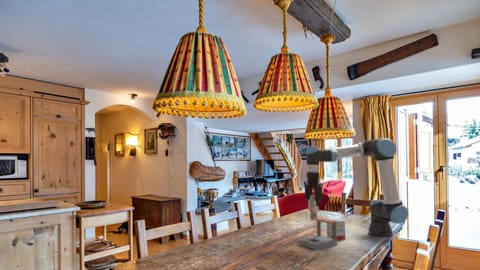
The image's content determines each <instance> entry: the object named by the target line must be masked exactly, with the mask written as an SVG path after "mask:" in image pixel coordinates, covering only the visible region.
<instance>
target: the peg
mask: <svg viewBox="0 0 480 270" xmlns="http://www.w3.org/2000/svg"><path fill="white" fill-rule="evenodd" d="M314 201H315V194H312V195H311V196H310V212H309V214H310V216H309V217H310V218H309V219H310V220H311V221H315V220H317V217H318V212H315V204H314Z"/></svg>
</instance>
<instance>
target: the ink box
mask: <svg viewBox="0 0 480 270" xmlns="http://www.w3.org/2000/svg"><path fill="white" fill-rule="evenodd" d="M330 219H331V220H336V221H337V223H336V233H337V241H341V240H346V221H345V220H343V219H339V218H330ZM326 237H328V238H332V239H333V230H332V224H329V223H326Z"/></svg>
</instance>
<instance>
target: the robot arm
mask: <svg viewBox="0 0 480 270" xmlns="http://www.w3.org/2000/svg"><path fill="white" fill-rule="evenodd" d="M305 151H306V153H305V155H306V158H305V159H306V179H307V180H306V181H304V182H303V186H304V198H305V199H307V206H308V212H309V211H310V196H311V195H314V196H315V201H314V204H315V212H317V213H318V212H319V211H320V209H319V207H320V201H322V200H323V186H324V183H323V182H320V163H335V162H337V160H339V159H345V158H352V157H358V158H361V157H368V158H370V157H371V158H372V157H373V160H374V162H376V163H377V168H378V173H379V177H380V178H379V179H380V182H381V188H382V194H383V199H375V200H374V199H373V200H371V201H370V204H369V209H370V210H369V211H370V224H369V227H368V230H367V231H368V234H369V235H370V236H374V237H381V238H383V237H384V238H390V237H393V236H394V231H393V229H392V227H391V224H390V223H393V224H398V225H400V224H403V223H405V222H406V221H407V219H408V217H409V209H408V208H407V207H406V206H405V205H404V204H403V200H402V199H400V196H399V192H398V185H397V181H396V176H395V175H396V174H395V170H394V164H393V160H394V159H395V154H396V153H397V145H396V144H395V142H394V141H393V140H391V139H390V138H375V139H370V140H366V141H362V142H361V141H360V142H357V143H355V144H353V145H351V144H350V145H345V146H338V147H331V148H325V149H320V147H319V146H317V145H316V146H315V145H313V146H307V147H306V150H305ZM313 193H314V194H313Z"/></svg>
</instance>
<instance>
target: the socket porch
mask: <svg viewBox="0 0 480 270" xmlns="http://www.w3.org/2000/svg"><path fill="white" fill-rule="evenodd" d="M331 219H332V218H325V217H319V216H317V220H314V221H315V222H316V235H313V236H308V237H304V238H299V239H298V245H299V246H302V247H305V248H309V249H312V250H316V251H319V250H323V249H326V248H331V247H336V246H338V240H337V233H336V223H337V221H336V220H331ZM322 223H324V224H327V223H329V224H332V230H333V239H332V238H328V237H327V236H325V235H322V234H321V233H322V232H321V231H322V230H321V227H322V225H321V224H322Z"/></svg>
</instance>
